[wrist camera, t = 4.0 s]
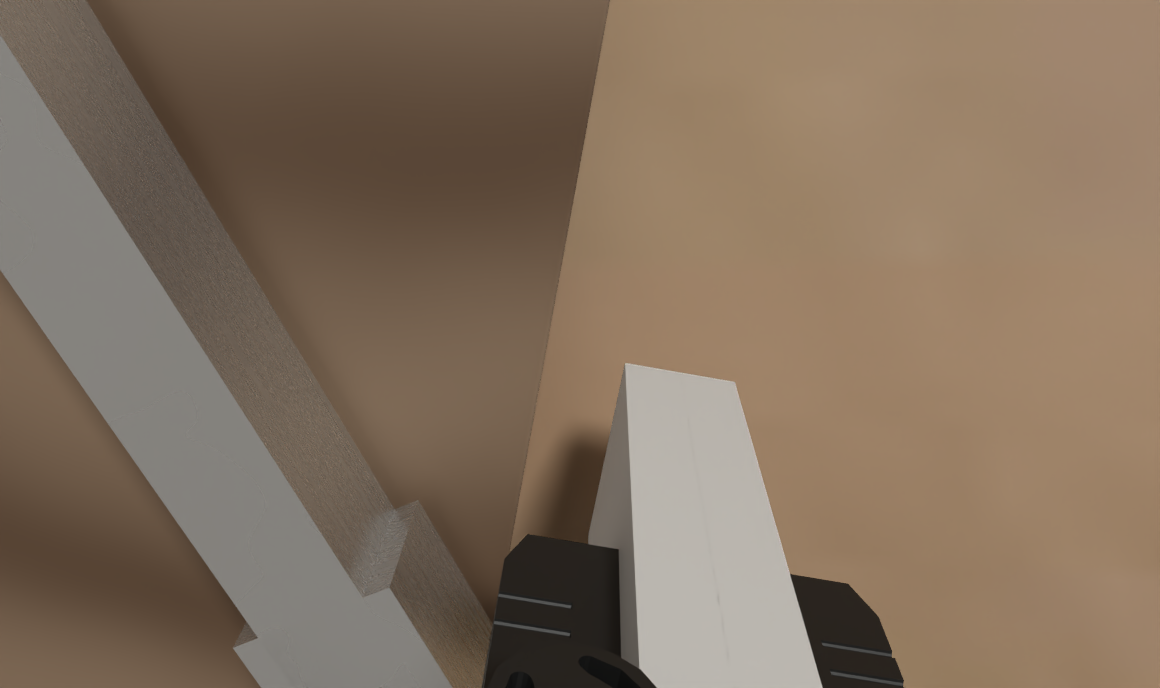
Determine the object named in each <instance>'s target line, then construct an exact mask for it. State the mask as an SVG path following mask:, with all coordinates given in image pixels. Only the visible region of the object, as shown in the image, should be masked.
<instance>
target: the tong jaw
mask: <svg viewBox="0 0 1160 688" xmlns="http://www.w3.org/2000/svg"><path fill="white" fill-rule="evenodd" d="M0 270H1V272H2V273H3V275H4V276H5V278H6V279H7V280H8V282H9V283H10V285H11V286H12V288H13V289H14V290H15V292H16V293H17V295H18V296H19V297H20V299H21V300H22V302H23V303H24V305H25V306H26V307H27V309H28V310H29V312H30V313H31V315H32V316H33V317H34V319H35V320H36V322H37V323H38V325H39V326H40V327H41V329H42V330H43V332H44V333H45V335H46V336H47V337H48V339H49V340H50V342H51V343H52V345H53V346H54V347H55V349H56V350H57V352H58V353H59V355H60V356H61V357H62V359H63V360H64V362H65V363H66V365H67V366H68V367H69V369H70V370H71V372H72V373H73V375H74V376H75V377H76V379H77V380H78V382H79V383H80V385H81V386H82V387H83V389H84V390H85V392H86V393H87V395H88V396H89V397H90V399H91V400H92V402H93V403H94V405H95V406H96V407H97V409H98V410H99V412H100V413H101V415H102V416H103V417H104V419H105V420H106V422H107V423H108V425H109V426H110V427H111V429H112V430H113V432H114V433H115V434H116V436H117V437H118V439H119V440H120V442H121V443H122V444H123V446H124V447H125V449H126V450H127V452H128V453H129V454H130V456H131V457H132V459H133V460H134V462H135V463H136V464H137V466H138V467H139V469H140V470H141V472H142V473H143V474H144V476H145V477H146V479H147V480H148V482H149V483H150V484H151V486H152V487H153V489H154V490H155V492H156V493H157V494H158V496H159V497H160V499H161V500H162V502H163V503H164V504H165V506H166V507H167V509H168V510H169V512H170V513H171V514H172V516H173V517H174V519H175V520H176V522H177V523H178V524H179V526H180V527H181V529H182V530H183V532H184V533H185V534H186V536H187V537H188V539H189V540H190V542H191V543H192V544H193V546H194V547H195V549H196V550H197V552H198V553H199V554H200V556H201V557H202V559H203V560H204V562H205V563H206V564H207V566H208V567H209V569H210V570H211V572H212V573H213V574H214V576H215V577H216V579H217V580H218V581H219V583H220V584H221V586H222V587H223V589H224V590H225V591H226V593H227V594H228V596H229V597H230V599H231V600H232V601H233V603H234V604H235V606H236V607H237V609H238V610H239V611H240V613H241V614H242V616H243V617H244V619H245V620H246V623H245V625H244V627H243V629H242V631H241V633H240V635H239V637H238V639H237V641H236V643H235V645H234V647H233V649H234V650H235V652H236V653H237V655H238V656H239V657H240V659H241V660H242V662H243V663H244V664H245V666H246V667H247V669H248V670H249V671H250V673H251V674H252V676H253V677H254V678H255V680H256V681H257V683H258V684H259V685H260V687H261V688H482V682H483V676H484V670H485V664H486V659H487V653H488V648H489V642H490V636H491V631H492V623H491V621H490V619H489V618H488V616H487V614H486V613H485V611H484V609H483V608H482V606H481V604H480V603H479V601H478V599H477V598H476V596H475V594H474V593H473V591H472V589H471V587H470V586H469V584H468V582H467V581H466V579H465V577H464V576H463V574H462V572H461V571H460V569H459V567H458V566H457V564H456V562H455V561H454V559H453V557H452V556H451V554H450V552H449V550H448V549H447V547H446V545H445V544H444V542H443V540H442V539H441V537H440V535H439V534H438V532H437V530H436V529H435V527H434V525H433V524H432V522H431V520H430V519H429V517H428V515H427V513H426V512H425V510H424V508H423V507H422V505H421V503H420V502H419V500H416V501H414V502H411V503H409V504H406V505H404V506H401V507H399V508H396V509H395V508H394V507H393V505H392V503H391V502H390V500H389V498H388V497H387V495H386V493H385V492H384V490H383V489H382V487H381V485H380V484H379V482H378V480H377V479H376V477H375V475H374V474H373V472H372V470H371V469H370V467H369V465H368V464H367V462H366V461H365V459H364V457H363V456H362V454H361V452H360V451H359V449H358V447H357V446H356V444H355V442H354V441H353V439H352V437H351V436H350V434H349V432H348V431H347V429H346V428H345V426H344V424H343V423H342V421H341V419H340V418H339V416H338V414H337V413H336V411H335V409H334V408H333V406H332V404H331V403H330V401H329V399H328V398H327V396H326V395H325V393H324V391H323V390H322V388H321V386H320V385H319V383H318V381H317V380H316V378H315V376H314V375H313V373H312V371H311V370H310V368H309V367H308V365H307V363H306V362H305V360H304V358H303V357H302V355H301V353H300V352H299V350H298V348H297V347H296V345H295V343H294V342H293V340H292V338H291V337H290V335H289V334H288V332H287V330H286V329H285V327H284V325H283V324H282V322H281V320H280V319H279V317H278V315H277V314H276V312H275V310H274V309H273V307H272V305H271V304H270V302H269V301H268V299H267V297H266V296H265V294H264V292H263V291H262V289H261V287H260V286H259V284H258V282H257V281H256V279H255V277H254V276H253V274H252V273H251V271H250V269H249V268H248V266H247V264H246V263H245V261H244V259H243V258H242V256H241V254H240V253H239V251H238V249H237V248H236V246H235V244H234V243H233V241H232V240H231V238H230V236H229V235H228V233H227V231H226V230H225V228H224V226H223V225H222V223H221V221H220V220H219V218H218V216H217V215H216V213H215V211H214V210H213V208H212V207H211V205H210V203H209V202H208V200H207V198H206V197H205V195H204V193H203V192H202V190H201V188H200V187H199V185H198V183H197V182H196V180H195V178H194V177H193V175H192V174H191V172H190V170H189V169H188V167H187V165H186V164H185V162H184V160H183V159H182V157H181V155H180V154H179V152H178V150H177V149H176V147H175V146H174V144H173V142H172V141H171V139H170V137H169V136H168V134H167V132H166V131H165V129H164V127H163V126H162V124H161V122H160V121H159V119H158V117H157V116H156V114H155V113H154V111H153V109H152V108H151V106H150V104H149V103H148V101H147V99H146V98H145V96H144V94H143V93H142V91H141V89H140V88H139V86H138V84H137V83H136V81H135V80H134V78H133V76H132V75H131V73H130V71H129V70H128V68H127V66H126V65H125V63H124V61H123V60H122V58H121V56H120V55H119V53H118V52H117V50H116V48H115V47H114V45H113V43H112V42H111V40H110V38H109V37H108V35H107V33H106V32H105V30H104V28H103V27H102V25H101V23H100V22H99V20H98V19H97V17H96V15H95V14H94V12H93V10H92V9H91V7H90V5H89V4H88V2H87V0H0Z"/></svg>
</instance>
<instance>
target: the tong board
mask: <svg viewBox="0 0 1160 688" xmlns="http://www.w3.org/2000/svg"><path fill="white" fill-rule="evenodd" d="M87 2H88V4H89V5H90V7H91V9H92V10H93V12H94V14H95V15H96V17H97V19H98V20H99V22H100V23H101V25H102V27H103V28H104V30H105V32H106V33H107V35H108V37H109V38H110V40H111V42H112V43H113V45H114V47H115V48H116V50H117V52H118V53H119V55H120V56H121V58H122V60H123V61H124V63H125V65H126V66H127V68H128V70H129V71H130V73H131V75H132V76H133V78H134V80H135V81H136V83H137V84H138V86H139V88H140V89H141V91H142V93H143V94H144V96H145V98H146V99H147V101H148V103H149V104H150V106H151V108H152V109H153V111H154V113H155V114H156V116H157V117H158V119H159V121H160V122H161V124H162V126H163V127H164V129H165V131H166V132H167V134H168V136H169V137H170V139H171V141H172V142H173V144H174V146H175V147H176V149H177V150H178V152H179V154H180V155H181V157H182V159H183V160H184V162H185V164H186V165H187V167H188V169H189V170H190V172H191V174H192V175H193V177H194V178H195V180H196V182H197V183H198V185H199V187H200V188H201V190H202V192H203V193H204V195H205V197H206V198H207V200H208V202H209V203H210V205H211V207H212V208H213V210H214V211H215V213H216V215H217V216H218V218H219V220H220V221H221V223H222V225H223V226H224V228H225V230H226V231H227V233H228V235H229V236H230V238H231V240H232V241H233V243H234V244H235V246H236V248H237V249H238V251H239V253H240V254H241V256H242V258H243V259H244V261H245V263H246V264H247V266H248V268H249V269H250V271H251V273H252V274H253V276H254V277H255V279H256V281H257V282H258V284H259V286H260V287H261V289H262V291H263V292H264V294H265V296H266V297H267V299H268V301H269V302H270V304H271V305H272V307H273V309H274V310H275V312H276V314H277V315H278V317H279V319H280V320H281V322H282V324H283V325H284V327H285V329H286V330H287V332H288V334H289V335H290V337H291V338H292V340H293V342H294V343H295V345H296V347H297V348H298V350H299V352H300V353H301V355H302V357H303V358H304V360H305V362H306V363H307V365H308V367H309V368H310V370H311V371H312V373H313V375H314V376H315V378H316V380H317V381H318V383H319V385H320V386H321V388H322V390H323V391H324V393H325V395H326V396H327V398H328V399H329V401H330V403H331V404H332V406H333V408H334V409H335V411H336V413H337V414H338V416H339V418H340V419H341V421H342V423H343V424H344V426H345V428H346V429H347V431H348V432H349V434H350V436H351V437H352V439H353V441H354V442H355V444H356V446H357V447H358V449H359V451H360V452H361V454H362V456H363V457H364V459H365V461H366V462H367V464H368V465H369V467H370V469H371V470H372V472H373V474H374V475H375V477H376V479H377V480H378V482H379V484H380V485H381V487H382V489H383V490H384V492H385V493H386V495H387V497H388V498H389V500H390V502H391V503H392V505H393V507H394V508H395V509H396V508H399V507H401V506H404V505H406V504H409V503H411V502H414V501H416V500H419V502H420V503H421V505H422V507H423V508H424V510H425V512H426V513H427V515H428V517H429V519H430V520H431V522H432V524H433V525H434V527H435V529H436V530H437V532H438V534H439V535H440V537H441V539H442V540H443V542H444V544H445V545H446V547H447V549H448V550H449V552H450V554H451V556H452V557H453V559H454V561H455V562H456V564H457V566H458V567H459V569H460V571H461V572H462V574H463V576H464V577H465V579H466V581H467V582H468V584H469V586H470V587H471V589H472V591H473V593H474V594H475V596H476V598H477V599H478V601H479V603H480V604H481V606H482V608H483V609H484V611H485V613H486V614H487V616H488V618H489V619H490V621H491V623H492V625H493V620H494V614H495V608H496V603H497V597H498V592H499V586H500V580H501V575H502V569H503V564H504V559H505V558H506V557H507V555H508V554H509V550H510V545H511V539H512V534H513V529H514V523H515V518H516V512H517V507H518V501H519V496H520V490H521V485H522V479H523V474H524V468H525V463H526V457H527V452H528V446H529V441H530V435H531V430H532V424H533V419H534V413H535V408H536V402H537V397H538V391H539V386H540V380H541V375H542V369H543V364H544V358H545V353H546V348H547V342H548V337H549V331H550V326H551V320H552V315H553V309H554V304H555V298H556V293H557V287H558V282H559V276H560V271H561V265H562V260H563V254H564V249H565V243H566V238H567V232H568V227H569V221H570V216H571V210H572V205H573V199H574V194H575V188H576V183H577V178H578V172H579V167H580V161H581V156H582V150H583V145H584V139H585V134H586V128H587V123H588V117H589V112H590V106H591V101H592V95H593V90H594V84H595V79H596V73H597V68H598V62H599V57H600V51H601V46H602V40H603V35H604V29H605V24H606V18H607V13H608V7H609V2H610V0H87ZM245 623H246V620H245V619H244V617H243V616H242V614H241V613H240V611H239V610H238V609H237V607H236V606H235V604H234V603H233V601H232V600H231V599H230V597H229V596H228V594H227V593H226V591H225V590H224V589H223V587H222V586H221V584H220V583H219V581H218V580H217V579H216V577H215V576H214V574H213V573H212V572H211V570H210V569H209V567H208V566H207V564H206V563H205V562H204V560H203V559H202V557H201V556H200V554H199V553H198V552H197V550H196V549H195V547H194V546H193V544H192V543H191V542H190V540H189V539H188V537H187V536H186V534H185V533H184V532H183V530H182V529H181V527H180V526H179V524H178V523H177V522H176V520H175V519H174V517H173V516H172V514H171V513H170V512H169V510H168V509H167V507H166V506H165V504H164V503H163V502H162V500H161V499H160V497H159V496H158V494H157V493H156V492H155V490H154V489H153V487H152V486H151V484H150V483H149V482H148V480H147V479H146V477H145V476H144V474H143V473H142V472H141V470H140V469H139V467H138V466H137V464H136V463H135V462H134V460H133V459H132V457H131V456H130V454H129V453H128V452H127V450H126V449H125V447H124V446H123V444H122V443H121V442H120V440H119V439H118V437H117V436H116V434H115V433H114V432H113V430H112V429H111V427H110V426H109V425H108V423H107V422H106V420H105V419H104V417H103V416H102V415H101V413H100V412H99V410H98V409H97V407H96V406H95V405H94V403H93V402H92V400H91V399H90V397H89V396H88V395H87V393H86V392H85V390H84V389H83V387H82V386H81V385H80V383H79V382H78V380H77V379H76V377H75V376H74V375H73V373H72V372H71V370H70V369H69V367H68V366H67V365H66V363H65V362H64V360H63V359H62V357H61V356H60V355H59V353H58V352H57V350H56V349H55V347H54V346H53V345H52V343H51V342H50V340H49V339H48V337H47V336H46V335H45V333H44V332H43V330H42V329H41V327H40V326H39V325H38V323H37V322H36V320H35V319H34V317H33V316H32V315H31V313H30V312H29V310H28V309H27V307H26V306H25V305H24V303H23V302H22V300H21V299H20V297H19V296H18V295H17V293H16V292H15V290H14V289H13V288H12V286H11V285H10V283H9V282H8V280H7V279H6V278H5V276H4V275H3V273H2V272H1V270H0V688H261V687H260V685H259V684H258V683H257V681H256V680H255V678H254V677H253V676H252V674H251V673H250V671H249V670H248V669H247V667H246V666H245V664H244V663H243V662H242V660H241V659H240V657H239V656H238V655H237V653H236V652H235V650H234V649H233V647H234V645H235V643H236V641H237V639H238V637H239V635H240V633H241V631H242V629H243V627H244V625H245Z"/></svg>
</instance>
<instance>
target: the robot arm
mask: <svg viewBox="0 0 1160 688" xmlns="http://www.w3.org/2000/svg"><path fill="white" fill-rule="evenodd" d="M903 682H904V680H903V677H902V675H901V672H900V670H899V667H898V665H897V662H896V660H895V658H892V650H891V647H890V645H889V642H888V640H887V637H886V635H885V632H884V630H883V627H882V625H881V622H880V620H879V617H878V616H877V615H876V614H875V613H874V611H873V610H872V609H871V608H870V607H869V606H868V605H867V604H866V603H865V602H864V601H863V600H862V598H861V597H860V596H859V595H858V594H857V593H856V592H855V591H854V590H853V589H852V588H851V587H850V585H849V584H846V583H840V582H834V581H828V580H822V579H816V578H810V577H804V576H798V575H792V574H790V573H789V569H788V566H787V562H786V559H785V555H784V552H783V548H782V545H781V541H780V538H779V534H778V531H777V527H776V524H775V520H774V517H773V513H772V510H771V506H770V503H769V500H768V496H767V493H766V489H765V486H764V482H763V479H762V475H761V472H760V468H759V465H758V461H757V458H756V454H755V451H754V447H753V444H752V440H751V437H750V433H749V430H748V426H747V423H746V419H745V416H744V412H743V409H742V405H741V402H740V398H739V395H738V392H737V388H736V385H735V382H732V381H726V380H721V379H715V378H709V377H703V376H698V375H692V374H686V373H680V372H675V371H669V370H663V369H657V368H652V367H646V366H640V365H634V364H629V363H625V366H624V370H623V375H622V380H621V385H620V389H619V394H618V399H617V403H616V408H615V413H614V417H613V422H612V427H611V431H610V436H609V441H608V445H607V450H606V455H605V459H604V464H603V469H602V474H601V478H600V483H599V488H598V492H597V497H596V502H595V506H594V511H593V516H592V520H591V525H590V530H589V534H588V544H584V543H578V542H572V541H566V540H560V539H554V538H548V537H542V536H536V535H530V534H528V535H527V536H526V537H525V538H524V539H523V540H522V541H521V542H520V543H519V544H518V545H517V546H516V547H515V548H514V549H513V550H512V551H511V552H510V553H509V554H508V555H507V557H506V558H505V559H504V564H503V569H502V575H501V580H500V586H499V592H498V597H497V603H496V608H495V614H494V620H493V625H492V631H491V636H490V642H489V648H488V653H487V659H486V664H485V670H484V676H483V682H482V688H903Z"/></svg>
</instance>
